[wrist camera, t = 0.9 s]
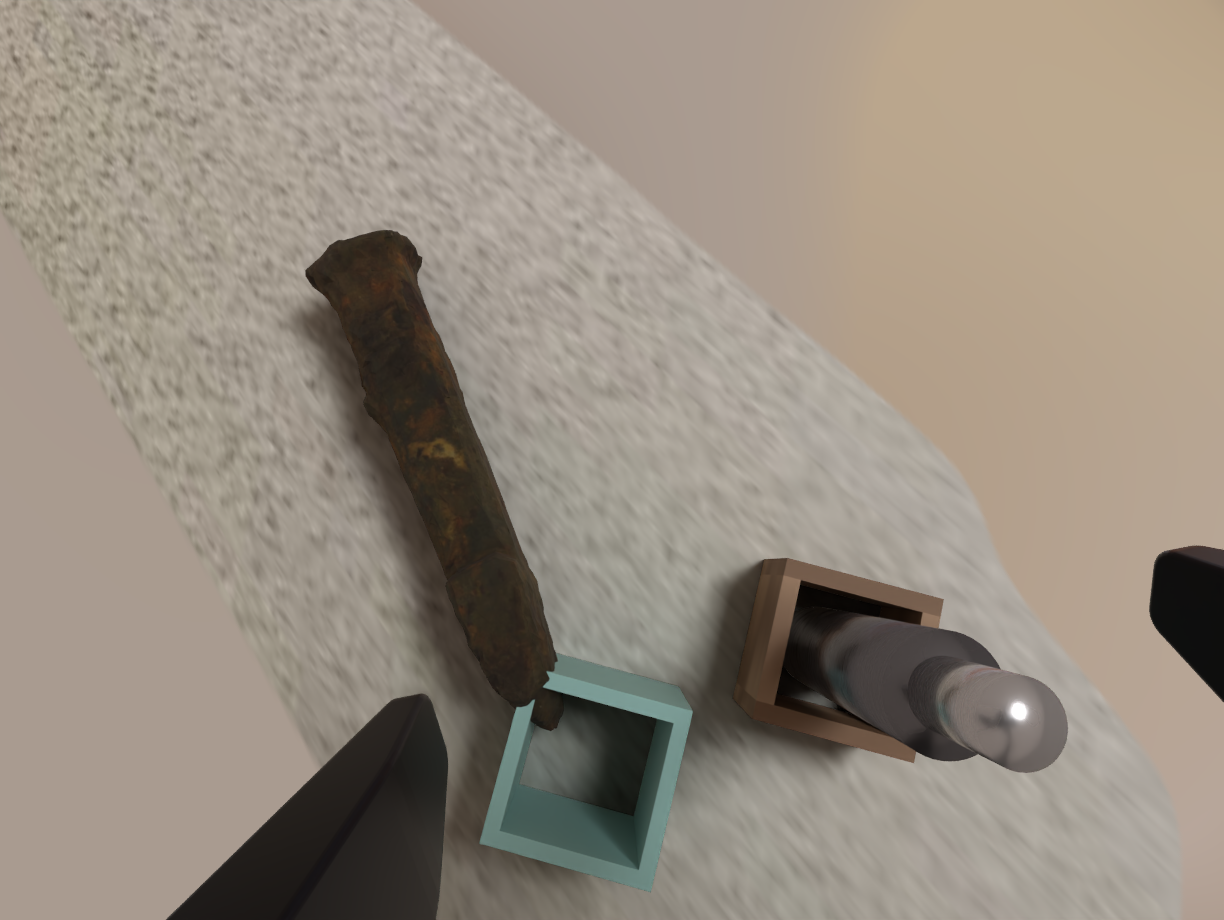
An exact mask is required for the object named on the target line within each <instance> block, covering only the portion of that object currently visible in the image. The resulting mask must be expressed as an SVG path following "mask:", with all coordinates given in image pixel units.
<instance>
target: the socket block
mask: <svg viewBox="0 0 1224 920" xmlns="http://www.w3.org/2000/svg"><path fill="white" fill-rule="evenodd" d="M800 585H803V586H806V587H810V588H814V589H818V590H822V591H825V592H829V593H833V594H837V595H840V596H844V597H848V598H852V599H855V600H859V601H863V602H867V603H871V604H874V605H878V606H881V611H880V616H879V618H884V619H890V620H895V621H901V622H906V623H911V624H917V625H922V626H928V627H933V628H938V627H939V622H940V616H941V611H942V605H943V600H944V599H940V598H937V597H933V596H929V595H925V594H922V593H918V592H914V591H910V590H906V589H903V588H899V587H895V586H891V585H887V584H884V583H880V582H876V581H872V580H868V579H865V578H861V577H857V576H853V575H849V574H846V573H842V572H838V571H834V570H831V569H827V568H823V567H819V566H815V565H812V564H808V563H804V562H800V561H796V560H793V559H789V558H781V559H764V562H763V567H762V571H761V575H760V580H759V584H758V589H757V593H756V598H755V602H754V607H753V611H752V615H751V620H750V624H749V629H748V633H747V638H746V642H745V646H744V651H743V655H742V660H741V664H740V669H739V673H738V678H737V682H736V686H735V691H734V695H733V699H734V700H735V701H736V702H737V703H738V704H739V706H740V707H741V708H742V709H743V710H744V711H745V712H746V713H747V714H748V715H749V716H750V717H751V718H752V719H754V720H758V721H762V722H765V723H769V724H773V725H776V726H780V727H784V728H787V729H791V730H795V731H798V732H802V733H806V734H809V735H813V736H817V737H820V738H824V739H828V740H831V741H835V742H839V743H842V744H846V745H850V746H853V747H857V748H861V749H864V750H868V751H872V752H875V753H879V754H883V755H886V756H890V757H893V758H897V759H901V760H904V761H908V762H912V763H914V760H915V754H916V751H915V750H913V749H911V748H910V747H908V746H906V745H905V744H903V743H901V742H900V741H898V740H896V739H895V738H893V737H891V736H890V735H888V734H886V733H885V732H883V731H881V730H880V729H878V728H876V727H875V726H873V725H871V724H870V723H868V722H866V721H865V720H863V719H861V718H860V717H858V716H856V715H854V714H850V713H847V712H843V711H839V710H836V709H832V708H828V707H825V706H821V705H817V704H814V703H810V702H806V701H803V700H799V699H795V698H792V697H788V696H784V695H781V694H777V689H778V684H779V679H780V675H781V670H782V665H783V661H784V656H785V652H786V647H787V642H788V638H789V633H790V628H791V624H792V619H793V614H794V610H795V605H796V601H797V596H798V591H799V587H800Z"/></svg>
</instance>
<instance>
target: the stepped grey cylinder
mask: <svg viewBox="0 0 1224 920" xmlns="http://www.w3.org/2000/svg"><path fill="white" fill-rule="evenodd" d="M783 665H784V667H785V668H786V670H787V671H788V672H789V673H790V675H791V676H793V677H794V678H795V679H796V680H798V681H800V682H801V683H803V684H805V685H806V686H808V687H810V688H811V689H813V690H815V691H816V692H818V693H820V694H821V695H823V696H825V697H826V698H828V699H830V700H831V701H833V702H835V703H836V704H838V705H840V706H841V707H843V708H845V709H846V710H848V711H850V712H851V713H853V714H855V715H856V716H858V717H860V718H861V719H863V720H865V721H866V722H868V723H870V724H871V725H873V726H875V727H876V728H878V729H880V730H881V731H883V732H885V733H886V734H888V735H890V736H891V737H893V738H895V739H896V740H898V741H900V742H901V743H903V744H905V745H906V746H908V747H910V748H911V749H913V750H915V751H916V752H918V753H920V754H922V755H924V756H926V757H929V758H932V759H936V760H941V761H959V760H964V759H968V758H970V757H973V756H975V755H977V754H979V755H981V756H983V757H985V758H987V759H989V760H991V761H993V762H995V763H997V764H999V765H1001V766H1003V767H1005V768H1007V769H1009V770H1012V771H1016V772H1024V773H1028V772H1035V771H1039V770H1042V769H1044V768H1046V767H1047V766H1049V765H1050V764H1052V763H1053V762H1054V761H1055V760H1056V759H1057V758H1058V757H1059V755H1060V754H1061V752H1062V750H1063V748H1064V746H1065V743H1066V739H1067V733H1068V723H1067V717H1066V714H1065V710H1064V708H1063V706H1062V704H1061V702H1060V700H1059V699H1058V697H1057V696H1056V695H1055V693H1054V692H1053V691H1052V690H1051V689H1050V688H1049V687H1047V686H1046V685H1045V684H1043V683H1042V682H1040V681H1038V680H1036V679H1034V678H1031V677H1028V676H1024V675H1020V674H1016V673H1012V672H1008V671H1005V670H1001V669H1000V667H999V665H998V663H997V662H996V660H995V659H994V658H993V656H992V655H991V654H990V653H989V652H988V651H987V649H986V648H984V647H983V646H982V645H981V644H980V643H978V642H977V641H975V640H974V639H972V638H970V637H968V636H966V635H964V634H961V633H958V632H954V631H949V630H944V629H938V628H933V627H928V626H922V625H917V624H911V623H906V622H901V621H895V620H890V619H884V618H879V617H874V616H868V615H863V614H858V613H852V612H847V611H841V610H836V609H831V608H825V607H819V606H811V607H806V608H803V609H800V610H798V611H796V612H795V613H794V614H793V619H792V624H791V628H790V633H789V638H788V642H787V647H786V652H785V656H784V661H783Z"/></svg>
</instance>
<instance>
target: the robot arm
mask: <svg viewBox="0 0 1224 920" xmlns="http://www.w3.org/2000/svg"><path fill="white" fill-rule="evenodd" d="M1149 612H1150V617H1151V620H1152V622H1153V624H1154V626H1155V628H1156V629H1157V630H1158V632H1159V633H1160V634H1161V635H1162V636H1163V637H1164V638H1165V639H1166V641H1167V642H1168V643H1169V644H1170V645H1171V646H1172V647H1173V648H1174V649H1175V650H1176V651H1177V652H1178V653H1179V654H1180V656H1181V657H1182V658H1183V659H1184V660H1185V661H1186V662H1187V663H1188V664H1189V665H1190V666H1191V668H1192V669H1193V670H1194V671H1195V672H1196V673H1197V674H1198V675H1199V676H1200V677H1201V678H1202V679H1203V680H1204V682H1205V683H1206V684H1207V685H1208V686H1209V687H1210V688H1211V689H1212V690H1213V691H1214V692H1215V694H1216V695H1217V696H1218V697H1219V698H1220V699H1221V700H1222V701H1223V702H1224V550H1221V549H1215V548H1211V547H1205V546H1188V547H1183V548H1178V549H1173V550H1168V551H1164V552H1162V553H1161V554H1159V555H1158V557H1157V558H1156V560H1155V564H1154V569H1153V579H1152V588H1151V597H1150V606H1149ZM447 776H448V757H447V750H446V746H445V742H444V739H443V736H442V733H441V730H440V727H439V723H438V720H437V717H436V714H435V711H434V708H433V705H432V702H431V700H430V699H429V697H428V696H427V695H425V694H417V695H411V696H406V697H401V698H396V699H393V700H391V701H390V702H389V703H388V704H387V705H386V706H385V707H384V708H383V709H382V710H381V711H380V712H379V713H378V714H377V715H376V716H374V717H373V718H372V719H371V720H370V721H369V722H368V723H367V724H366V725H365V726H364V727H363V728H362V729H361V730H360V731H359V732H358V733H357V734H356V735H355V736H354V737H353V738H352V739H351V740H350V741H349V742H348V743H347V744H346V745H345V746H344V747H343V748H342V749H341V750H340V751H339V752H338V753H337V754H336V755H334V756H333V757H332V758H331V759H330V760H329V761H328V762H327V763H326V764H325V765H324V766H323V767H322V768H321V769H320V770H319V771H318V772H317V773H316V774H315V775H314V776H313V777H312V778H311V779H310V780H309V781H308V782H307V783H306V784H305V785H304V786H303V787H302V788H301V789H300V790H299V791H298V792H297V793H296V794H295V795H294V796H292V797H291V798H290V799H289V800H288V801H287V802H286V803H285V804H284V805H283V806H282V807H281V808H280V809H279V810H278V811H277V812H276V813H275V814H274V815H273V816H272V817H271V818H270V819H269V820H268V821H267V822H266V823H265V824H264V825H263V826H262V827H261V828H260V829H259V830H258V831H257V832H256V833H254V835H252V836H251V837H250V838H249V839H248V840H247V841H246V842H245V843H244V844H243V845H242V846H241V847H240V848H239V849H238V850H237V851H236V852H235V853H234V854H233V855H232V856H231V857H230V858H229V859H228V860H227V861H226V862H225V863H224V864H223V865H222V866H221V867H220V868H219V869H218V870H217V871H215V872H214V873H213V874H212V875H211V877H209V878H208V879H207V880H206V881H205V882H204V883H203V884H202V885H201V886H200V887H199V888H198V889H197V890H196V891H195V892H194V893H193V894H192V895H191V896H190V897H189V898H188V899H187V900H186V901H185V902H184V903H183V904H182V905H181V906H180V907H179V908H177V909H176V910H175V911H174V912H173V913H172V914H171V915H170V916H169V917H168V918H167V919H166V920H436V915H437V908H438V901H439V893H440V882H441V869H442V853H443V838H444V822H445V807H446V791H447Z"/></svg>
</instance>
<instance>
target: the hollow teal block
mask: <svg viewBox="0 0 1224 920" xmlns="http://www.w3.org/2000/svg"><path fill="white" fill-rule="evenodd" d="M556 655H557V659H558V662H555V669H554V670H555V671H553V672H548V671H546V672H547V674H548V676H549V678H550V679H549V681H548V682H547V683H546V684H545V685H544V686H543V687H544V688H547V689H551V690H555V691H558V692H562V693H565V694H569V695H573V696H576V697H580V698H584V699H587V700H591V701H595V702H598V703H602V704H606V705H609V706H613V707H616V708H620V709H624V710H627V711H631V712H635V713H638V714H642V715H646V716H649V717H653V718H656V719H657V721H656V725H655V729H654V734H653V738H652V742H651V746H650V750H649V754H648V758H647V763H646V767H645V771H644V775H643V779H642V783H641V788H640V792H639V796H638V800H637V804H636V808H635V812H634V816H631V815H627V814H624V813H620V812H617V811H613V810H609V809H606V808H602V807H599V806H595V805H592V804H588V803H585V802H581V801H577V800H574V799H570V798H567V797H563V796H560V795H556V794H552V793H549V792H545V791H542V790H538V789H535V788H531V787H528V786H524V785H520V784H519V782H520V779H521V775H522V771H523V768H524V764H525V760H526V756H527V753H528V749H529V745H530V741H531V738H532V734H533V730H534V727H535V724H534V723H532V722H531V721H530V718H531V714H532V709H533V705H534V702H535V700H532V702H531V703H530V704H529V705H527V706H524V707H516V711H515V715H514V718H513V722H512V725H511V729H510V733H509V736H508V740H507V744H506V747H505V751H504V755H503V758H502V762H501V766H500V769H499V773H498V777H497V780H496V784H495V788H494V791H493V795H492V799H491V802H490V806H489V810H488V813H487V817H486V820H485V824H484V828H483V831H482V835H481V839H480V842H479V843H480V844H483V845H487V846H490V847H494V848H497V849H501V850H504V851H508V852H511V853H515V854H518V855H522V856H525V857H529V858H532V859H536V860H539V861H543V862H546V863H550V864H553V865H557V866H560V867H564V868H567V869H571V870H575V871H578V872H582V873H585V874H589V875H592V876H596V877H599V878H603V879H606V880H610V881H613V882H617V883H620V884H624V885H627V886H631V887H634V888H638V889H641V890H645V891H648V892H651V889H652V885H653V880H654V876H655V872H656V868H657V863H658V859H659V855H660V850H661V846H662V842H663V838H664V833H665V829H666V825H667V820H668V816H669V812H670V808H671V803H672V799H673V795H674V790H675V786H676V782H677V778H678V773H679V769H680V765H681V760H682V756H683V752H684V748H685V743H686V739H687V735H688V731H689V726H690V722H691V718H692V713H693V711H692V709H691V707H690V705H689V704H688V702H687V700H686V698H685V697H684V695H683V693H682V692H681V690H680V688H679V686H675V685H671V684H668V683H664V682H660V681H657V680H653V679H649V678H646V677H642V676H638V675H635V674H631V673H627V672H624V671H620V670H616V669H613V668H609V667H605V666H602V665H598V664H594V663H591V662H587V661H583V660H580V659H576V658H572V657H569V656H565V655H561V654H558V653H556Z"/></svg>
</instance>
